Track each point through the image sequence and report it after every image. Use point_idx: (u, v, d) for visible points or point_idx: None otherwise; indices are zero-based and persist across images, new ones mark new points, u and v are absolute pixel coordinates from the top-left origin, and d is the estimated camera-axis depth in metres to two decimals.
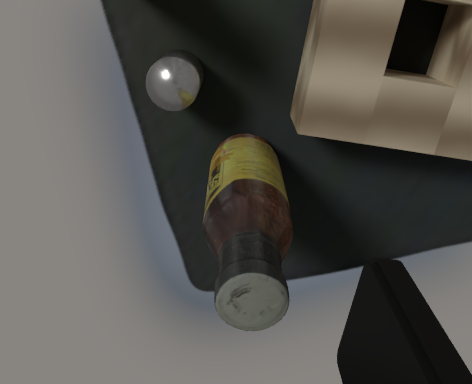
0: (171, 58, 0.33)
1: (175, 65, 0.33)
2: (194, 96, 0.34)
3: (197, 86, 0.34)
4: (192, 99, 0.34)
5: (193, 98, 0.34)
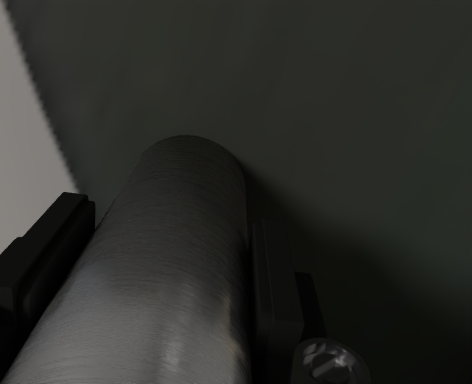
0: None
1: None
2: None
3: None
4: None
5: None
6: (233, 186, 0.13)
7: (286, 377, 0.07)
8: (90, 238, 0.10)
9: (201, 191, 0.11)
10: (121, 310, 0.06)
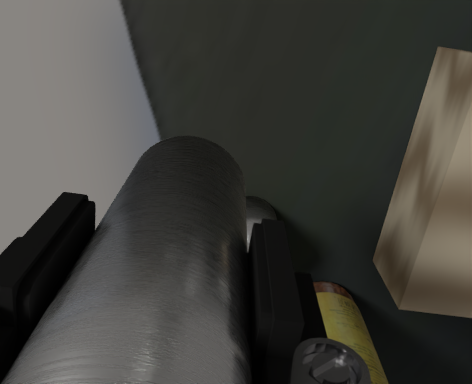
0: (250, 226, 0.28)
1: None
2: None
3: None
4: None
5: None
6: (233, 186, 0.13)
7: (286, 377, 0.07)
8: (90, 239, 0.10)
9: (201, 191, 0.11)
10: (121, 310, 0.06)
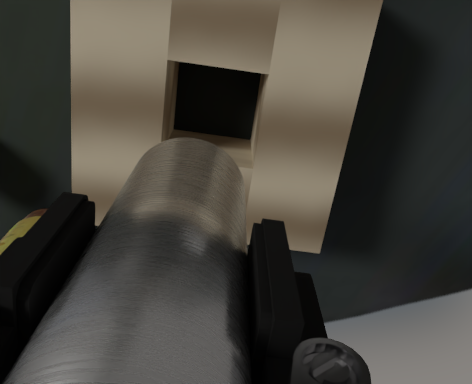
0: None
1: None
2: None
3: None
4: None
5: None
6: (232, 188, 0.13)
7: (286, 377, 0.07)
8: (90, 241, 0.10)
9: (201, 194, 0.11)
10: (120, 313, 0.06)
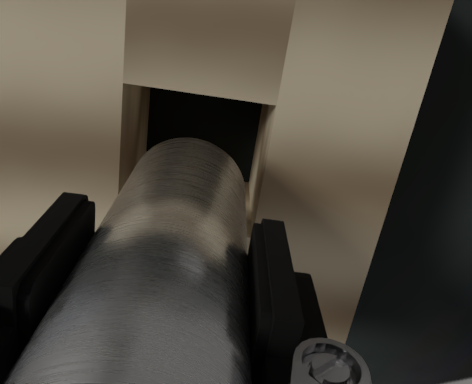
0: None
1: None
2: None
3: None
4: None
5: None
6: (233, 189, 0.13)
7: (286, 377, 0.07)
8: (90, 241, 0.10)
9: (201, 194, 0.11)
10: (121, 314, 0.06)
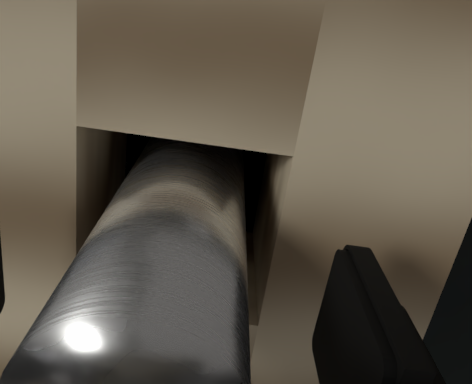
0: None
1: None
2: None
3: None
4: None
5: None
6: (233, 154, 0.15)
7: None
8: (119, 187, 0.12)
9: (207, 153, 0.13)
10: (152, 219, 0.09)
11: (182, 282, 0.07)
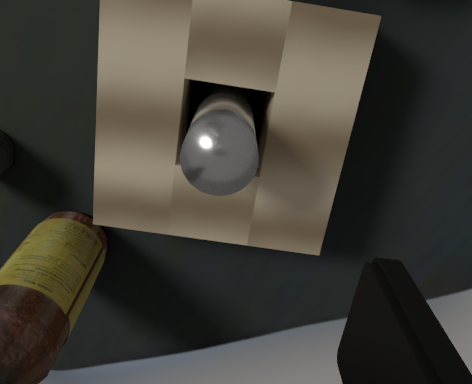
0: None
1: None
2: None
3: None
4: None
5: None
6: (247, 100, 0.31)
7: None
8: (199, 107, 0.28)
9: (236, 95, 0.29)
10: (221, 108, 0.25)
11: (236, 119, 0.23)
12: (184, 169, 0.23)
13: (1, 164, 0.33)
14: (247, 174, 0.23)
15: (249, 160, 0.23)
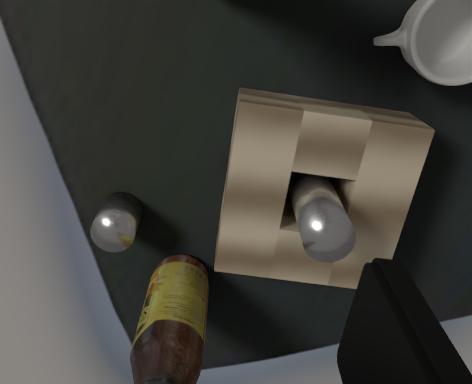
0: (95, 221, 0.40)
1: (101, 222, 0.40)
2: (130, 226, 0.41)
3: (125, 219, 0.40)
4: (131, 228, 0.41)
5: (131, 227, 0.41)
6: (328, 177, 0.41)
7: None
8: (299, 190, 0.38)
9: (324, 178, 0.40)
10: (324, 198, 0.35)
11: (339, 211, 0.33)
12: (305, 246, 0.33)
13: (139, 221, 0.44)
14: (347, 249, 0.33)
15: (349, 239, 0.33)
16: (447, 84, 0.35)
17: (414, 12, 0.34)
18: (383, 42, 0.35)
